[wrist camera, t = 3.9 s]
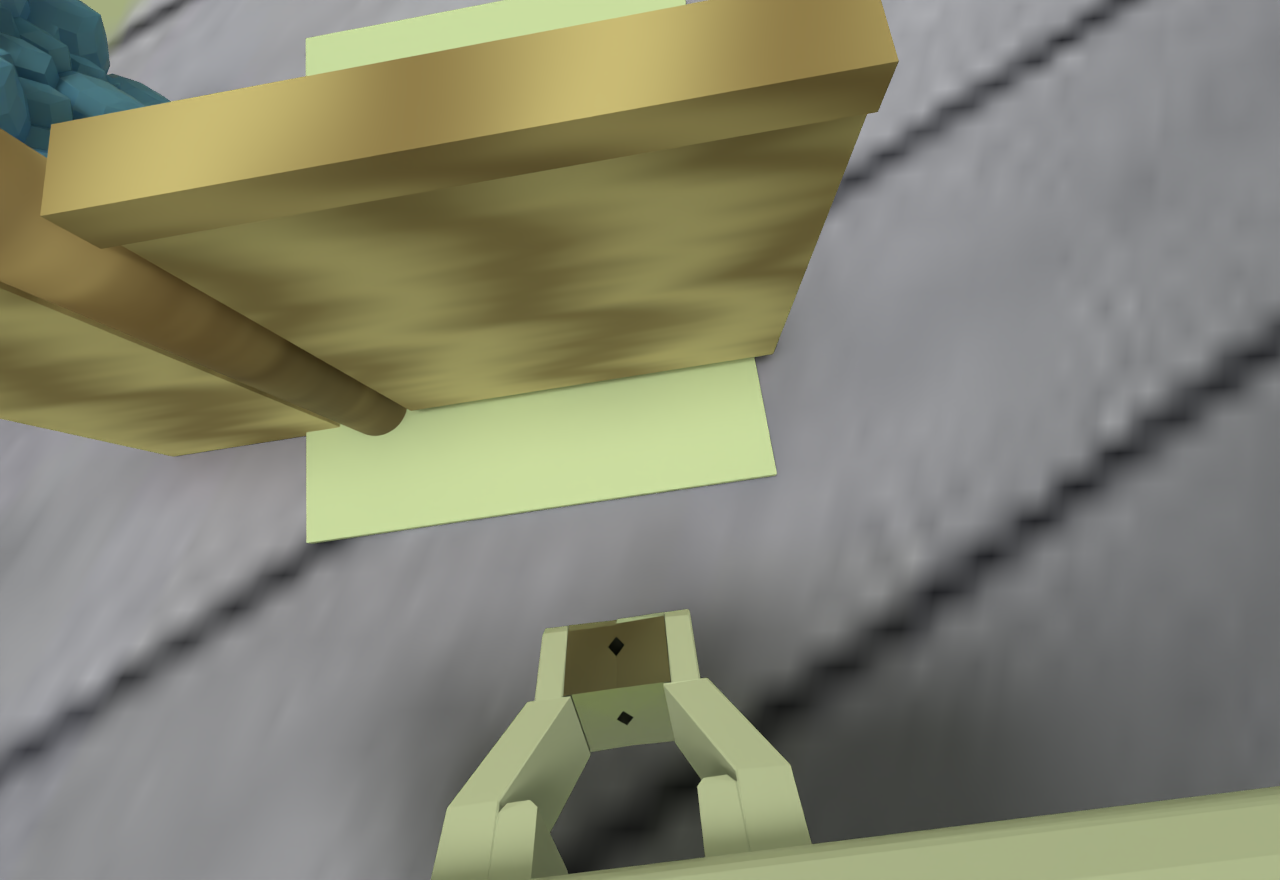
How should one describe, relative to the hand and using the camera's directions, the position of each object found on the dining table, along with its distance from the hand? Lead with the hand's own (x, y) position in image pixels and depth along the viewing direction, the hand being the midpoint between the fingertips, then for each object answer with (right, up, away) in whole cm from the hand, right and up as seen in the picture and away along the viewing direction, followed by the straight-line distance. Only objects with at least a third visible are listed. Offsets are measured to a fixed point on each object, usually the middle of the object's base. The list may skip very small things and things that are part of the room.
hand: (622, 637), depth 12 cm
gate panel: (-2, +7, +10) cm, 12 cm away
